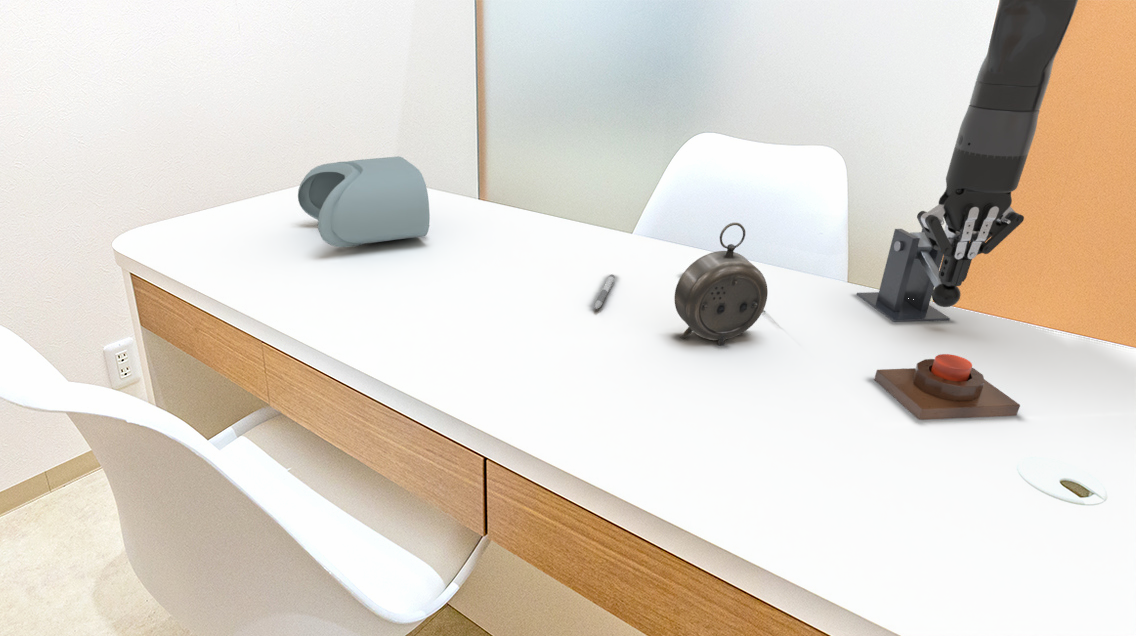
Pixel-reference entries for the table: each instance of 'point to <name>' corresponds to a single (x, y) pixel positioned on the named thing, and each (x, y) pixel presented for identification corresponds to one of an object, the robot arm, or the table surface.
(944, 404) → the switch block
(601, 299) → the pen
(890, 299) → the switch bracket
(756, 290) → the alarm clock
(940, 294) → the lever
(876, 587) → the table surface
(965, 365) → the button
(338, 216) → the grey hollow curved shell
